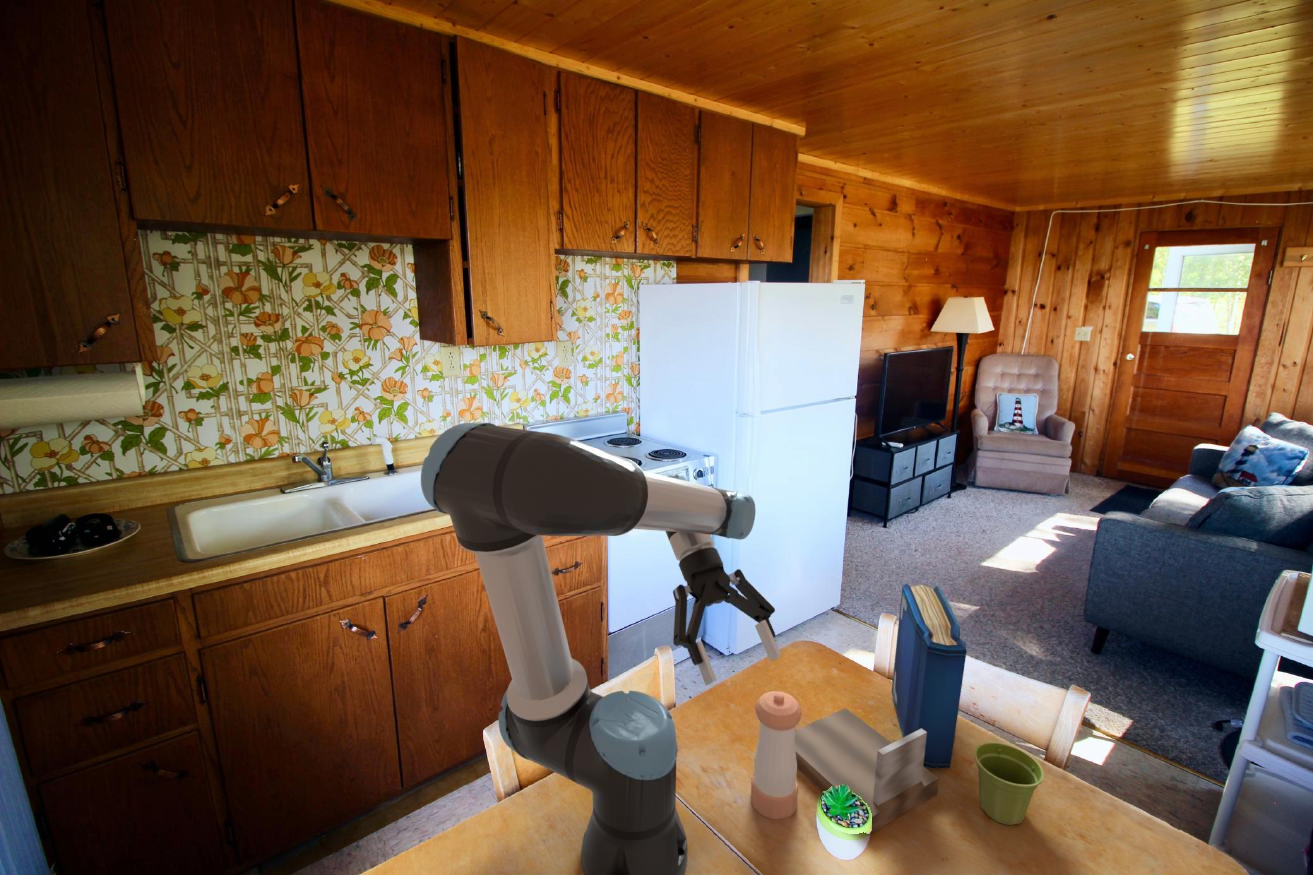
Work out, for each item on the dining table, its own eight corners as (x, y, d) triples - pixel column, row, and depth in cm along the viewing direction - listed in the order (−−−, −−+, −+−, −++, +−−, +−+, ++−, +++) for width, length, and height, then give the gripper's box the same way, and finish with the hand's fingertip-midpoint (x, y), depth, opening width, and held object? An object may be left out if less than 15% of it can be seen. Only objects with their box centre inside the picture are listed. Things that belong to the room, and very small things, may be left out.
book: (956, 779, 103) (973, 644, 97) (911, 772, 104) (925, 639, 99) (927, 698, 123) (940, 583, 118) (890, 694, 125) (901, 580, 119)
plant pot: (970, 778, 103) (976, 733, 101) (1036, 801, 98) (1043, 755, 96) (965, 818, 95) (971, 770, 93) (1036, 845, 90) (1044, 795, 88)
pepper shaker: (748, 814, 96) (753, 706, 91) (752, 779, 102) (757, 677, 98) (796, 823, 94) (803, 713, 90) (797, 787, 101) (803, 684, 97)
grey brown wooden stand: (867, 835, 92) (874, 766, 89) (779, 751, 109) (782, 691, 106) (937, 794, 99) (945, 729, 97) (844, 721, 116) (848, 665, 114)
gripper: (741, 549, 121) (789, 655, 111) (629, 577, 109) (672, 699, 99) (760, 533, 115) (812, 643, 106) (643, 560, 103) (691, 688, 94)
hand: (744, 670), depth 103 cm, fingers open, 13 cm apart
